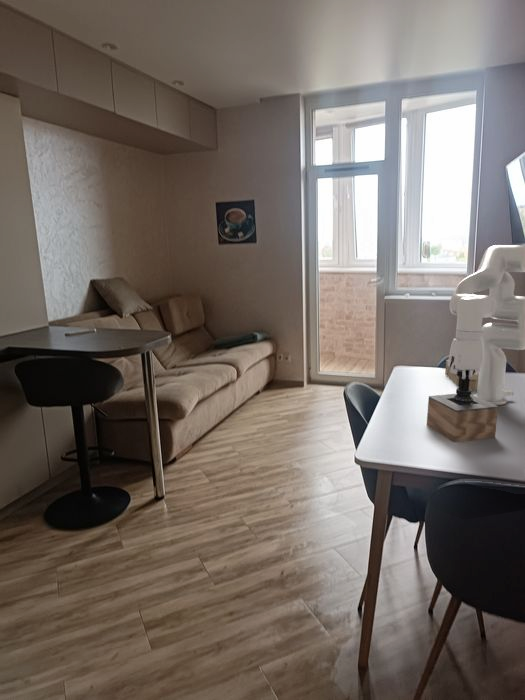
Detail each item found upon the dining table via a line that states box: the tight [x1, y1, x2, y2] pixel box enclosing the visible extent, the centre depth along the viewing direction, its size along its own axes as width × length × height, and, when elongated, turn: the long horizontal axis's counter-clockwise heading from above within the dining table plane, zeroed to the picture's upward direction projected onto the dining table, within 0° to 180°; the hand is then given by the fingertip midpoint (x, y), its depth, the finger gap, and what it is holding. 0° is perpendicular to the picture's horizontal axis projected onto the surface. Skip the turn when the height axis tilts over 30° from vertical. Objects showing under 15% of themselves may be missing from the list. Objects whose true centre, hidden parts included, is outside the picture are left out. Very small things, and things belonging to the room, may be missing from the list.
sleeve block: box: [426, 393, 499, 443], centre depth 163 cm, size 15×15×11 cm
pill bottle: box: [453, 388, 473, 405], centre depth 163 cm, size 6×6×11 cm
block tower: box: [444, 359, 479, 391], centre depth 222 cm, size 8×8×29 cm
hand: (463, 389), depth 161 cm, fingers closed
